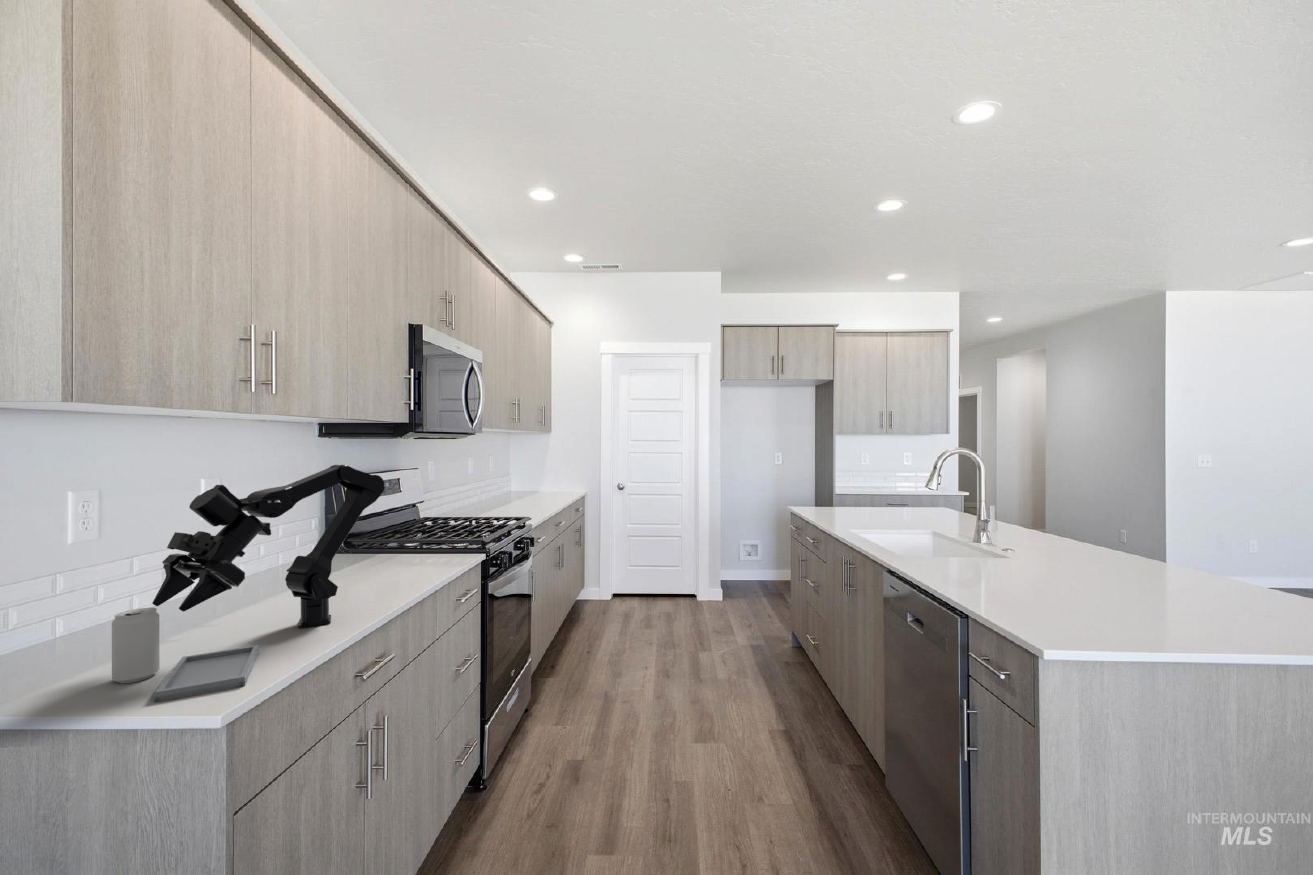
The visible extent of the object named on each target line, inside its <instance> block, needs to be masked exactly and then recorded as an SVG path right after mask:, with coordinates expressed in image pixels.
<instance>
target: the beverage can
mask: <svg viewBox="0 0 1313 875" xmlns="http://www.w3.org/2000/svg"><path fill="white" fill-rule="evenodd" d="M157 611H158V610H157V608H156V607H141V608H136V609H135V608H133V609H129V610H124V611H121V612H118V613H116V614H114V619H113V620H112V622H111V679H112V680H113V681H114V682H117V683H118V684H131V683H136V682H141V681H143V680H146V678H147V679H149V678H152V676H154V675H155V674H156V673H157V672H158V671H160V667H161V666H160V662H161V661H160V660H161V659H160V655H161V654H160V614H159V613H158V612H157Z"/></svg>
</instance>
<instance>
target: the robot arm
mask: <svg viewBox="0 0 1313 875" xmlns="http://www.w3.org/2000/svg"><path fill="white" fill-rule="evenodd" d="M337 484H338V485H340V487H343V488H344V489H345V491H344V492H345V493H344V502H343V503H342V505H341V506H340V508H339V509H338V511H337V512H336V514H335V516H334V517H333V518H332V520H331V521H330V523H329V525H328V527H327V528H326V529H325V531H324V532H323V534H322V535H321V537H320V538H319V540H318V541H317V542H316V544H315V546H314V547H313V549H312V550H311V552H310V553H308V554H307V555H297V556H295V558H294V560H293V561H292V562H293V563H292V564H291V565H290V567H289V568H287V569H286V572H287V573H286V576H285V579H284V580H285V584H286V587H287V588H288V590H290V592H291V594H292V596H293V598H294V597H295V598H300V619H299V621H298V622H297V623H298V624H297V628H298V629H301V628H307V627H315V626H321V625H322V626H323V625H329V624H331V623H332V615H331V614H330V603H329V602H330V598H331V597H335V596H336V595H337V592H338V589H339V587H338V585H337V584H336V583H334V582H333V581H332V580H330V576H331V574H332V565H333V564H332V562H333V559H334V558H335V556H336V554H337V552H339V550H340V548H341V546H342V545H343V543H344V541H345V540H346V539H347V537H348V536H349V533H350V532H351V530H352V529H353V528H354V526H355V524H356V523H357V521H358V519H359V518H360V517H361V515H362V513H363V511H364V510H365V509H367V508H368V507H370V506H371V505H372V504H374V503H376V502H377V500H378V499H379V498H380V497H381V496H382V495H383V493H384V492H385V489H386V485H385V481H384V479H383V478H382V476H380V475H379V474H371V473H368V472H364V471H362V470H359V469H356V468H353V467H351V466H350V465H347V464H333V465H332V464H331V466H329V467H327V468H325V469H322V470H320V471H318V472H316V473H312V474H310V475H308V476H305V477H303V478H301V479H299V480H296V481H293V482H292V483H291V482H290V483H289V484H287V485H282V486H276V487H270V488H264V489H260V490H257V491H253V492H251V493H249V495H247V497H245V498H244V497H243V498H240V499H239V498H238V497H237V496H236V495H234V494H233V493H232V492H231V491H230V490H229V488H228V487H226V486H225V485H224V484H216V485H214V487H212V488H210V489H208V490H206V491H204V492H203V493H201V494H200V495H196V496H195V498H194V499H193V500H192V501H191V502H190V503H189V507H188V508H189V509H190V510H191V511H192V512H194V513H195V514H196V515H197V516H198V517H200V518H202V519H203V520H204V521H205V522H206V523H208V524H209V525H211V526H212V527H218V526H221V527H222V528H221V529H220V530H219V531H218V533H216V535H212V534H211V533H210V532H207V531H200V530H198V531H197V532H196V533H194V534H191V533H184V532H176V531H175V532H174V534H173V535H172V537H171V539H170V541H169V542H168V545H167V547H166V549H168V550H169V549H170V550H177V551H181V552H186V553H188V554H186V553H185V554H184V553H172V554H168V555H167V557H166V558H165V559H164V560H163V561H161V562H162V564H163V565H162V567H163V569H164V570H165V571H164V573H165V578H164V580H163V582H162V584H161V586H160V587H159V590H158V592H157V594H156V595H155V597H154V599H153V600H152V605H153V606H155V607H159V606H161V605H162V604H164V603H166V602H167V601H169V600H170V599H172V598H174V597H175V596H176V595H178V594H179V593H181V592H183V591H184V590H186V589H188V588H189V587H190V586H192V585H193V584H195V583H196V582H195V581H196V580H198V582H197V583H196V584H195V586H194V587H193V588H192V589H191V591H190V592H189V593H188V595H187V596H186V597H185V599H183V601H182V603H181V604H180V605H179V607H178V610H180V611H181V612H186V611H189V610H190V609H192V608H194V607H196V606H197V605H200V604H202V603H204V602H205V601H208V600H209V599H211V598H213V597H215V596H217V595H219V594H222V593H224V592H226V591H228V590H232V588H233V587H235V588H236V587H237V588H239V586H240V585H241V584H242V583H243V582H244V581H245V579H246V572H245V571H244V570H242V569H241V568H240V567H238V566H237V565H235V563H234V560H236V558H237V557H239V558H243V557H244V555H246V552H245V551H244V550H245V548H246V547H247V546H248V545H249V544H250V543H251V542H252V541H253V539H255V537H256V536H257V535H259V536H271V535H272V529H271V523H270V522H264V521H263V522H262V521H261V520H260V519H259V518H265V519H266V518H267V519H272V518H273V519H275V518H279V517H281V516H283V515H284V514H285V513H287V512H289V511H290V510H292V509H293V508H294V506H296V505H297V504H298V502H300V501H302V500H304V499H306V498H308V497H310V496H312V495H315V494H317V493H319V492H322V491H324V490H326V489H328V488H331V487H333V486H335V485H337ZM245 512H247V514H246V513H245ZM232 562H233V563H232Z"/></svg>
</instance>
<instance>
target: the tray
mask: <svg viewBox="0 0 1313 875" xmlns="http://www.w3.org/2000/svg"><path fill="white" fill-rule="evenodd" d="M259 655H260V645H259V644H256V645H250V646H244V647H238V648H231V649H230V648H229V649H224V650H217V651H212V652H211V651H210V652H205V653H204V652H203V653H198V654H192V655H185V656H182V657H181V659H179V661H178V662H177V663H176V664H175V666H174V667H173V668H172V670H171V671H170V672H169V673H168V675H167V676H166V678H165V679H164V680H163V681H162V683H161V684H160V685H159V687H157V689H156V690H155V691H154V703H158V702H163V701H169V700H174V699H178V698H179V699H180V698H184V697H185V698H187V697H191V696H197V695H201V694H208V693H213V692H219V691H224V690H230V689H234V688H239V687H240V688H241V687H246V684H247V682H248V679H249V677H250V675H251V673H252V670H253V668H254V666H255V663H256V661H257V659H258V656H259Z"/></svg>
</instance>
